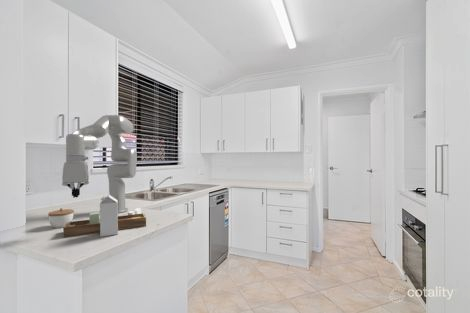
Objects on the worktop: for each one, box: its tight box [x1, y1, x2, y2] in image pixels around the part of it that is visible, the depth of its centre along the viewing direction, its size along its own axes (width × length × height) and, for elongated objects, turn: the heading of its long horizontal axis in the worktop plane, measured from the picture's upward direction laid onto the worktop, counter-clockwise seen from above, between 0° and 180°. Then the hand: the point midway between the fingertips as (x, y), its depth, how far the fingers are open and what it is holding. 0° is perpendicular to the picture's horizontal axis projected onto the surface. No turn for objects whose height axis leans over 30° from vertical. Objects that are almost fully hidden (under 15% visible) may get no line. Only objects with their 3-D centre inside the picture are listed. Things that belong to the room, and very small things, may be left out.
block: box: [88, 211, 100, 224], centre depth 114 cm, size 4×4×5 cm
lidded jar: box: [47, 208, 75, 229], centre depth 120 cm, size 11×11×9 cm
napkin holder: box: [127, 207, 142, 215], centre depth 133 cm, size 15×11×6 cm
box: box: [62, 212, 147, 238], centre depth 115 cm, size 10×35×4 cm, turn 116°
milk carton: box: [99, 193, 119, 238], centre depth 107 cm, size 7×7×19 cm
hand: (75, 197), depth 111 cm, fingers closed
